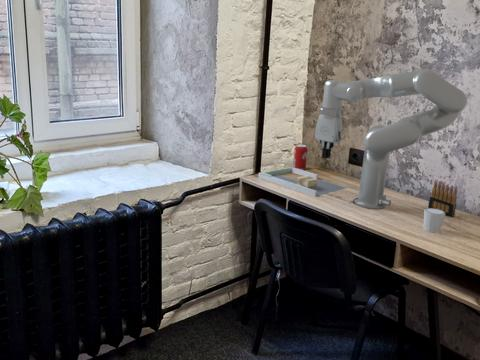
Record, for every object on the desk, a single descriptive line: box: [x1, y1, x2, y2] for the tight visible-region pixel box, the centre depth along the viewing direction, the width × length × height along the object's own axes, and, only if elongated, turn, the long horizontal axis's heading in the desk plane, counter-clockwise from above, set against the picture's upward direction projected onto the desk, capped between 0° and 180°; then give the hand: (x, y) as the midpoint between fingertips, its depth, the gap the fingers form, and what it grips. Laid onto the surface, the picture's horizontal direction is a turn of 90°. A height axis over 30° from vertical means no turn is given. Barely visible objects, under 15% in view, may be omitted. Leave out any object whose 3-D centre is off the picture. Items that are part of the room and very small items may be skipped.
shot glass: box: [422, 207, 446, 234], centre depth 172 cm, size 7×7×7 cm
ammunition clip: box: [427, 180, 458, 218], centre depth 191 cm, size 11×2×12 cm, turn 33°
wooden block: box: [296, 176, 319, 189], centre depth 208 cm, size 6×6×4 cm
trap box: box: [257, 166, 347, 197], centre depth 216 cm, size 32×22×4 cm
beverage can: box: [292, 144, 308, 171], centre depth 243 cm, size 6×6×12 cm
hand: (325, 157), depth 198 cm, fingers closed
